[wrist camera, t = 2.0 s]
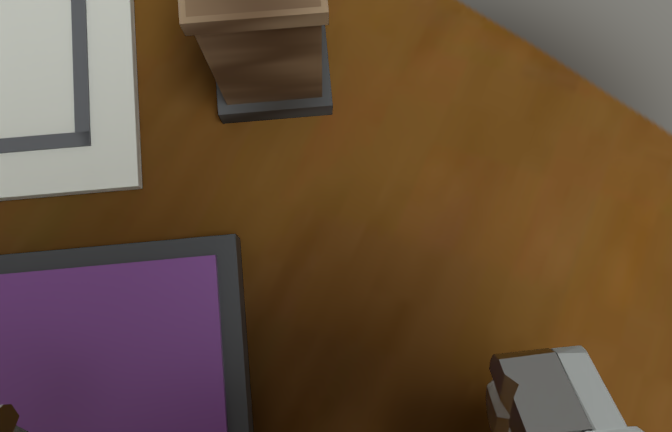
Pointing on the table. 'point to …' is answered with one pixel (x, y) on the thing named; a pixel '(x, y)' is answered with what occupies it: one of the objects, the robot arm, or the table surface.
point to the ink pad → (127, 338)
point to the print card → (68, 98)
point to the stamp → (263, 56)
